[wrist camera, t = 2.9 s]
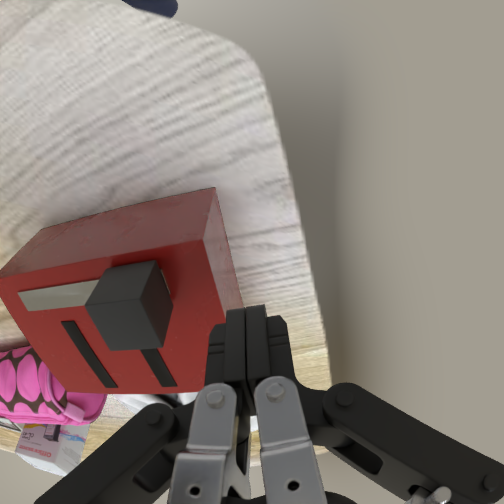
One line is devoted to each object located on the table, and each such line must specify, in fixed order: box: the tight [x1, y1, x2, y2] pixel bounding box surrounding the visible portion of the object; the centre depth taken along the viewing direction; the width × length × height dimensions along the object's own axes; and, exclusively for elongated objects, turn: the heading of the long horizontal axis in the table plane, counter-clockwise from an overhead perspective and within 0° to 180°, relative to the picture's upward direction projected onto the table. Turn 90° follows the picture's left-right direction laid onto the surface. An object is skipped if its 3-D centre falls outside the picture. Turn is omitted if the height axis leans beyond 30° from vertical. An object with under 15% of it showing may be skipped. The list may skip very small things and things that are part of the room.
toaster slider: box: [84, 260, 173, 351], centre depth 15 cm, size 3×3×3 cm
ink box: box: [15, 423, 90, 477], centre depth 31 cm, size 9×5×12 cm, turn 102°
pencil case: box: [0, 346, 108, 426], centre depth 27 cm, size 21×10×10 cm, turn 112°
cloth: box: [112, 392, 258, 432], centre depth 33 cm, size 22×19×6 cm
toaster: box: [0, 188, 243, 394], centre depth 22 cm, size 12×16×8 cm
